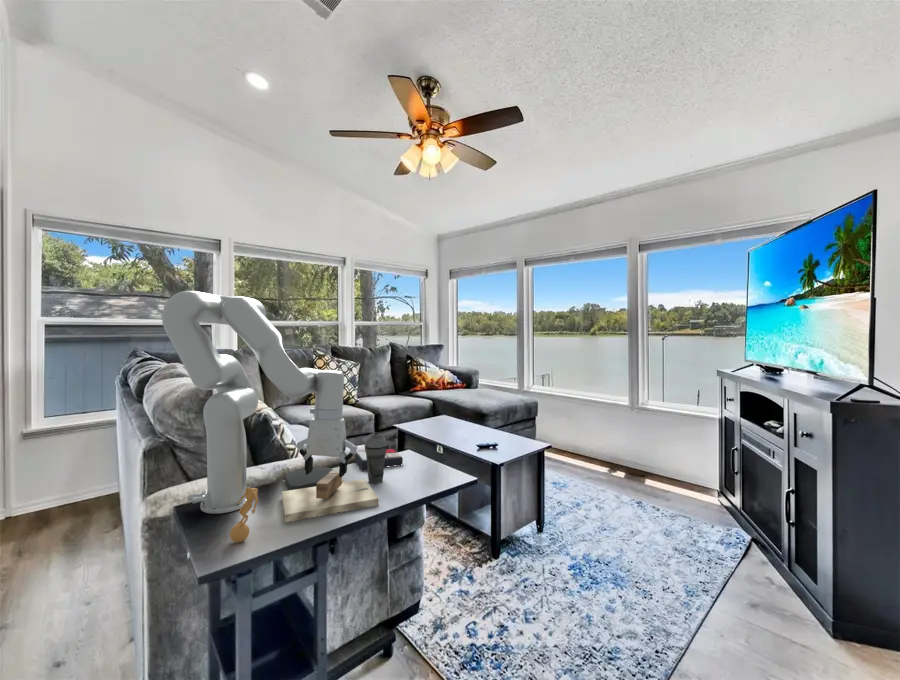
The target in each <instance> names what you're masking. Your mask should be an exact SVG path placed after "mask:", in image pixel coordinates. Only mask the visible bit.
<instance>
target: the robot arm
mask: <svg viewBox="0 0 900 680" xmlns="http://www.w3.org/2000/svg"><path fill="white" fill-rule="evenodd" d="M161 320H162V321H161V322H162V326H163V329H164V332H165V333H166V335H167V337H168V338H169V341H170V342H171V344H172V346H173V347H174V349H175V351H176V352H177V355H178V357H179V359H180V361H181V363H182V365H183V366H184V368H185V370H186V372H187V374H188V376H189V378H190V379H191V381H192V383H193V385H194V386H195V387H196V388H197V389H199V390H201V391H211V390H215V389H216V391H217V393H214V394H213V395H211V396H210V397H209V398H208V399H207V400H206V402H205V403H204V407H203V410H202V411H203V412H202V413H203V415H202V417H203V422H204V426H205V432H206V455H207V456H206V461H207V462H206V473H207V475H206V477H207V482H206V484H207V487H206V490H201V492H198V493H197V492H195V493H188V495H187V501H188V502H191V503H192V504H197V503H200V511H201V512H204V513H206V514H212V515H214V514H216V515H217V514H219V515H220V514H226V513H231V512H235V511H238V510H240V509H241V508H242V506H243V505H244V503H245V502H246V496H245V497H244V498H243V499H242V500H241V501H240V503H238V502H239V500H240V499H241V497H242V496H243V495H244V494H245V491H246V488H247V435H246V434H247V433H246V428H245V426H244V425H245V424H244V419H246V418H248V417H250V416H251V415H252V414H254V413H255V412H256V410H257V408H258V407H259V398H258V395H257V392H256V390H255V387H254V386H253V384H252V382H251V380H250V378H249V376H248V375H247V373H246V371H245V369H244V367H243V365H242V364H241V363H240V361H239V360H238V359H237V358H235V356H233V355H230V354H225V353H219V352H218V351H217V349H216V347H215V345H214V344H213V342H212V340H211V338H210V336H209V335H208V334H207V332H206V331H205V330H204V329H203V328H202V326H201V323H203V324H215V325H226V326H227V325H228V326H230V328H231V329H232V330H233V331H234V332H235V334H237V335H238V336H239V338H241V340H243V342H244V343H245V344H246V345H247V347H248V348H249V349H251V351H252V352H253V354H255V356H256V360H257V362H258V364H259V365H260V367H261V369H262V371H263V373H264V374H265V376H266V377H267V378H268V379H269V380H270V382H271V383H272V384H273V385H274V386H275V387H276V388H277V389H278V390H279V392H281V394H283V395H285V396H286V397H288V398H291V399H300V398H303V397H305V396H307V395H309V394H314V393H315V397H314V399H315V400H314V407H313V408H310V410H309V413H310V414H312V415H313V417H312V418H311V419H310V422H309V428H308V431H307V436H306V437H307V438H305V439H302V440H300V441H298V442H297V443H296V447H297V449H298V451H299V452H298V453H299V454H300V455H301V456H302V459H303V460H304V468H305V470H306V474H309V473H310V472H312V470H313V467H314V457H312V456H317V457H319V456H320V457H331V458H335V457H336V458H337V457H338V459H339V461H340V463H339V470H338V471H339V477H344V476H345V475H346V474H347V472H348V461H349V460H350V459H352V458H353V456H355V453H357V449H358V446H357V445H355V444H354V443H352V442H350V441H349V440H347V431H346V430H347V429H346V422H345V418H344V417H343V407H344V405H343V404H344V388H345V387H344V386H345V374H344V372H343V371H341V370H338V369H337V370H336V369H317V368H311V367H301V368H299V367H298V366H297V364H295V363H294V362H293V361H292V359H291V357H290V356H288V354H287V353H286V351H285V349H284V346H283V336H282V334H281V332H280V331H279V330H278V329H277V328H276V327H275V325H274V324H272V323H271V321H270V320H269V319H268V318H267V311H266V307H265V306H264V305H263V304H262V303H261V301H259V300H257V299H255V298H251V297H247V296H242V295H241V296H238V295H237V296H227V295H226V296H225V295H220V294H213V293H208V292H201V291H197V290H183V291H180V292H179V291H178V292H177V293H174V294H173V295H172V296H171V297H169V298H168V300H167V301H166V303H165V304H164V306H163V310H162V314H161ZM305 445H306V447H305ZM347 448H348V449H349V452H348V454H347V453H346V449H347Z"/></svg>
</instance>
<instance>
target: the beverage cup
mask: <svg viewBox="0 0 900 680" xmlns="http://www.w3.org/2000/svg"><path fill="white" fill-rule="evenodd" d="M371 428H372V433H371V434H369V435H368V436H367V438H366V439H365V442H364V446H363V447H364V450H365V452H366V458H367V470H366V471H367V478H368V484H370V485H371V484H372V485H378V484H381V483H383V481H384V473H385V472H384V471H385V468H384V463H385V452H386V449H387V447H388V441H387V439H386V437H385V436H384V435H383V434H382V433H380V432H376V431H375V426H374V419H371Z"/></svg>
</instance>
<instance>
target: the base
mask: <svg viewBox="0 0 900 680" xmlns="http://www.w3.org/2000/svg"><path fill="white" fill-rule="evenodd" d="M281 500H282V501H281V502H282V507H283V508H284V509H283V508H282V509H283V516H285V517H284V522H285V523H289V522H290V521H291V522H295V521H300V520H305V519H306V518H307V519H312V518H311V517H313V518H317V517H316V516H318V517H321V516H320V515H323V516H327V515H326V514H329V515H333V514H332V513H334V514H338V513H337V512H340V513H344V512H343V511H345V512H349V511H348V510H351V511H354V510H353V509H356V510H360V508H362V509H366V508H365V507H367V508H372V507H377V506H379V497H378V495H377V494H376V493H375V492H374V490H373V488H372V487H371V485H370V483H369V482H368V481H367V480H366V479H365V478H364V479H363V478H362V479H356V480H351V481H350V480H349V481H345V480H343V479H342V485H341V486H340V487H339V488H338V489H337V490H336V491H335V492H334V495H332V496H329V497H328V498H327V499H322V498H316V486H315V487H309V488H302V489H296V490H289V489H288V490H284V491H282V492H281Z"/></svg>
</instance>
